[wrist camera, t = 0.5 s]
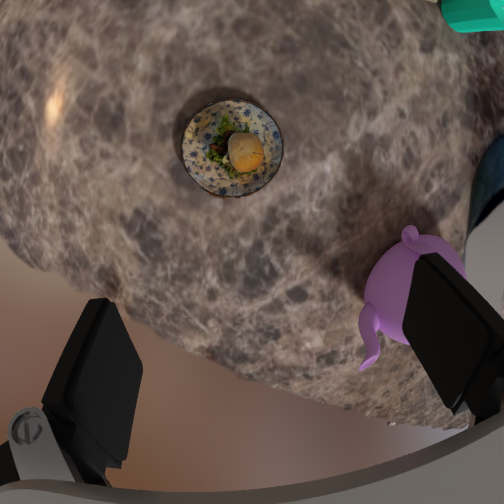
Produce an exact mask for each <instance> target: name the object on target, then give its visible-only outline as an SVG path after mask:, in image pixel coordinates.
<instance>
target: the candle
mask: <svg viewBox="0 0 504 504" xmlns="http://www.w3.org/2000/svg"><path fill="white" fill-rule="evenodd" d="M441 10H442V15H443V17H444V18H445V20H446V22H447V24H448V25H449V26H451V27H452V28H453V29H454V30H455V31H458V32H462V33H465V32H477V31H492V30H504V0H442V3H441Z"/></svg>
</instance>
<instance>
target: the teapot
mask: <svg viewBox="0 0 504 504" xmlns="http://www.w3.org/2000/svg"><path fill="white" fill-rule="evenodd" d="M401 237H402V241H401V242H399V243H397V244H396V245H394V246H393V247H391V248H390V249H389V250H387V251H386V252H385V253H384V254H383V255H382V256H381V258H380V259H379V260H378V261H377V263H376V264H375V266H374V267H373V269H372V271H371V273H370V275H369V277H368V280H367V282H366V286H365V291H364V304H365V306H364V307H363V308H362V310H361V312H360V315H359V321H358V325H359V330H360V334H361V336H362V339H363V341H364V343H365V346H366V352H367V353H366V357H365V359H364V360H363V362H362V364H361V365H360V367H359V370H360V371H361V370H364V369H366V368H367V367H369V366H370V365H372V364H373V363H374V362H375V361H376V360H377V358H378V356H379V353H380V345H379V342H378V339H377V336H376V331H377V330H378V329H379V330H380V331H382V332H383V333H384V334H385V335H387V336H388V337H390V338H392V339H394V340H396V341H398V342H401V343H404V344H408V345H410V344H409V342H408V341H407V339H406V337H405V336H404V334H403V331H402V322H403V318H404V314H405V309H406V305H407V300H408V295H409V291H410V285H411V280H412V275H413V269H414V264H415V262H416V260H418V258H419V256H420V255H422V254H427V253H433V252H437V253H439V254H440V255H441V256H442V257H443V258H444V259H445V260H446V261H447V262H448V263H449V264H450V265H451V266H453V267H454V268H455V269H456V270H457V271H458V272H459V273H460V274H461V275H462V276H463V277H464V278H465V279H466V280H467V277H466V273H465V269H464V267H463V264H462V261H461V260H460V258H459V256H458V254H457V253H456V251H455V250H454V248H453V247H452V246H451V245H450V244H449V243H448V242H447V241H445V240H444V239H443V238H440V237H438V236H434V235H427V234H423V235H419V233H418V230H417V228H416V227H415V226H413V225H407V226H405V227H404V229H403V230H402V233H401Z"/></svg>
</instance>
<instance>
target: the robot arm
mask: <svg viewBox="0 0 504 504" xmlns="http://www.w3.org/2000/svg"><path fill="white" fill-rule="evenodd" d="M402 331H403V334H404V336H405V337H406V339H407V341H408V342H409V344H410V346H411V347H412V349H413V351H414V352H415V354H416V356H417V357H418V359H419V361H420V362H421V364H422V366H423V367H424V369H425V371H426V373H427V374H428V376H429V378H430V380H431V381H432V383H433V385H434V387H435V389H436V390H437V392H438V394H439V396H440V398H441V399H442V401H443V403H444V405H445V406H446V407H447V408H449V409H451V411H452V413H453V415H457V414H459V413H461V412H463V411H465V410H467V409H468V407H469V409H470V411H471V416H470V421H469V426H468V429H466V430H464V431H463V432H460V433H458V434H456V435H454V436H452V437H449V438H447V439H445V440H443V441H440V442H438V443H436V444H434V445H431V446H428V447H426V448H424V449H421V450H419V451H416V452H413V453H410V454H408V455H405V456H402V457H399V458H396V459H393V460H390V461H387V462H384V463H381V464H378V465H374V466H371V467H368V468H365V469H361V470H357V471H353V472H349V473H346V474H342V475H338V476H333V477H328V478H324V479H319V480H314V481H309V482H303V483H297V484H291V485H284V486H277V487H270V488H261V489H251V490H239V491H224V492H162V491H147V490H134V489H123V488H114V487H112V485H111V484H110V482H109V481H108V479H107V478H106V476H105V470H106V467H109V468H119V469H121V465H122V460H126V458H127V454H128V448H129V442H130V436H131V430H132V424H133V419H134V413H135V408H136V403H137V398H138V393H139V388H140V383H141V378H142V374H143V365H142V362H141V360H140V358H139V356H138V353H137V351H136V350H135V347H134V345H133V343H132V341H131V339H130V337H129V334H128V332H127V330H126V328H125V325H124V323H123V321H122V319H121V316H120V314H119V312H118V309H117V307H116V305H115V303H114V302H110V300H109V299H108V298H98V299H90V300H89V301H88V303H87V304H86V306H85V308H84V310H83V312H82V314H81V316H80V318H79V320H78V322H77V324H76V326H75V328H74V330H73V332H72V334H71V336H70V338H69V340H68V342H67V344H66V346H65V348H64V350H63V352H62V355H61V357H60V359H59V361H58V363H57V366H56V368H55V370H54V372H53V375H52V377H51V379H50V382H49V384H48V386H47V389H46V391H45V393H44V396H43V398H42V401H41V402H42V404H43V408H42V410H40V409H39V408H36V407H27V408H24V409H22V410H20V411H19V412H18V413H16V414H15V415H14V417H13V418H12V419H11V421H10V423H9V425H8V431H7V434H8V441H6V442H5V443H3V444H2V445H0V504H504V320H503V318H502V317H501V316H500V315H499V314H498V313H497V312H496V311H495V310H494V308H493V307H492V306H491V305H490V304H489V303H488V302H487V301H486V300H485V299H484V298H483V297H482V296H481V295H480V294H479V293H478V292H477V290H476V289H474V287H473V286H472V285H470V283H469V282H468V281H467V280H466V279H465V278H464V277H463V276H462V275H461V274H460V273H459V272H458V271H457V270H456V269H455V268H454V267H453V266H451V265H450V264H449V263H448V262H447V261H446V260H445V259H444V258H443V257H442V256H441V255H440V254H439V253H437V252H433V253H427V254H422V255H420V256H419V258H418V260H416V262H415V264H414V269H413V275H412V280H411V285H410V291H409V295H408V300H407V305H406V309H405V314H404V318H403V322H402Z"/></svg>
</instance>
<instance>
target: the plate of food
mask: <svg viewBox="0 0 504 504" xmlns="http://www.w3.org/2000/svg"><path fill="white" fill-rule="evenodd" d="M181 153H182V159H183V164H184V167H185V170H186V171H187V173H188V174H189V175H190V176H191V177H192V178H193V179H194V181H195V182H196V183H197V184H198V185H199V187H200V188H202V189H204V190H205V191H206V192H207V193H208V194H210V195H212V196H214V197H218V198H223V199H225V198H227V197H234V198H240V197H241V196H245V197H246V196H249V195H252V194H253V193H255V192H257V191H259V190H260V189H262V188H263V187H264V186H265V185H267V184H268V183H269V182H270V181H271V180H272V179H273V177H274V176H275V175H276V173H277V172H278V170H279V168H280V165H281V162H282V158H283V154H284V139H283V137H282V133H281V130H280V128H279V126H278V125H277V123H276V121H275V119H274V118H273V117H272V116H271V115H270V114H269V112H268V111H266V110H265V109H264V108H262V107H261V106H260V105H258V104H256V103H254V102H252V101H249V100H245V99H241V98H232V99H229V98H228V99H222V100H220V99H219V100H216V101H213V102H210V103H209V104H207V105H205V106H203V107H202V108H200V109H199V110H198V111H197V112H196V113H194V114H193V115H192V117H191V118H190V119H189V121H188V122H187V125H186V128H185V131H184V133H183V136H182V141H181Z"/></svg>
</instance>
